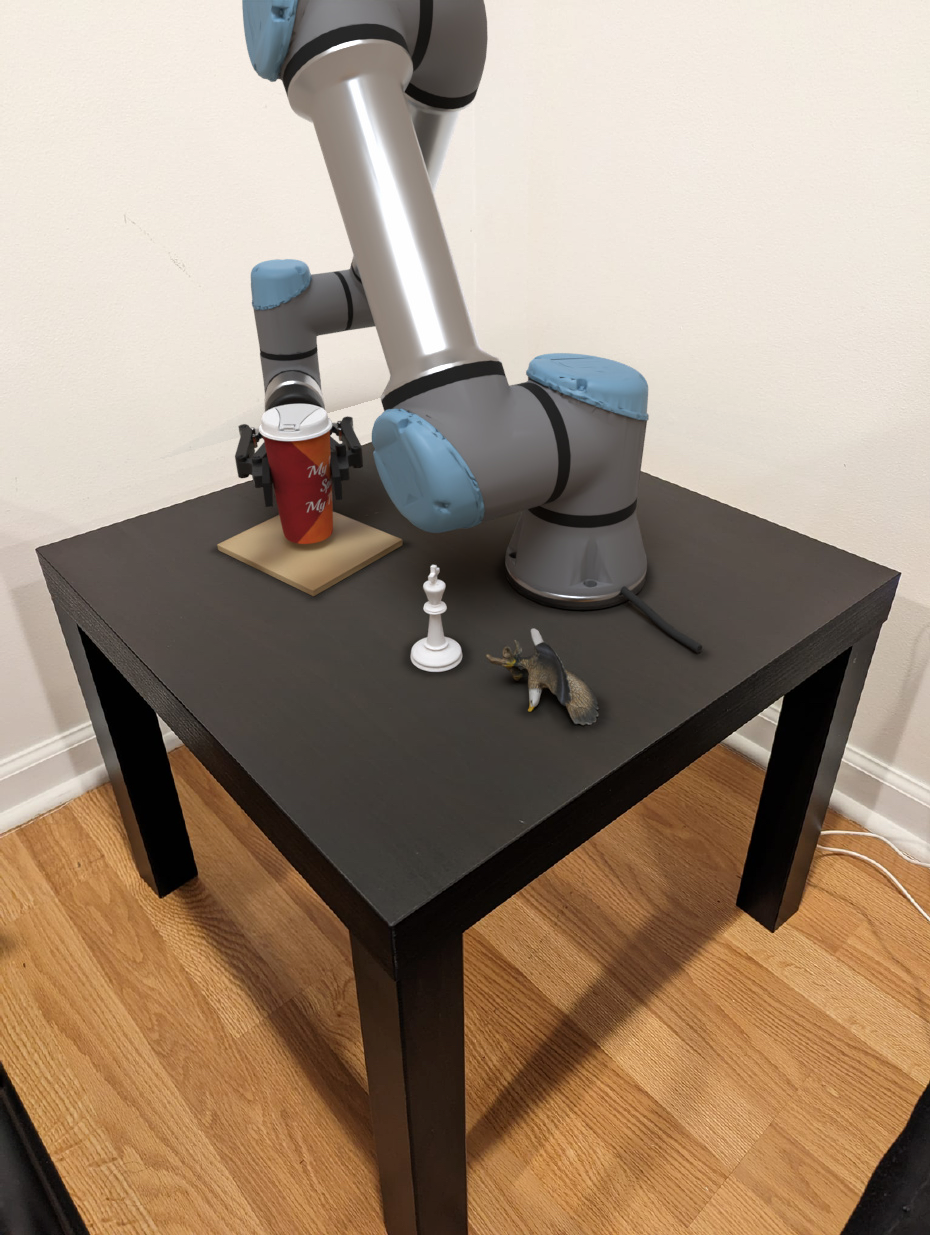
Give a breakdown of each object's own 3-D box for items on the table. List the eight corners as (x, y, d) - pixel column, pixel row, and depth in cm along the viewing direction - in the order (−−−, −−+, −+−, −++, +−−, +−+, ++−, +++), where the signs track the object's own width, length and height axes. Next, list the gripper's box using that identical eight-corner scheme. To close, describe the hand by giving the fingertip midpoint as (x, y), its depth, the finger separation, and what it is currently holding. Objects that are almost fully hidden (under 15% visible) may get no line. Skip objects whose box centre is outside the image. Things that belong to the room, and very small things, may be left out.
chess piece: (469, 646, 84) (468, 557, 78) (452, 676, 80) (450, 584, 74) (421, 637, 85) (417, 548, 80) (402, 666, 81) (397, 575, 76)
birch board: (402, 545, 101) (402, 539, 100) (313, 596, 92) (312, 590, 91) (308, 506, 109) (307, 500, 108) (217, 550, 100) (216, 544, 99)
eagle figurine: (474, 700, 75) (561, 727, 70) (492, 620, 75) (580, 641, 70) (523, 703, 81) (606, 728, 76) (539, 628, 81) (624, 648, 76)
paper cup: (337, 549, 96) (325, 428, 88) (268, 548, 96) (249, 428, 88) (346, 515, 102) (336, 401, 94) (281, 515, 102) (265, 400, 95)
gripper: (374, 433, 113) (397, 514, 94) (220, 446, 110) (213, 532, 91) (370, 377, 109) (394, 450, 90) (210, 388, 106) (200, 466, 87)
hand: (303, 491), depth 91 cm, fingers closed on paper cup, 7 cm apart
